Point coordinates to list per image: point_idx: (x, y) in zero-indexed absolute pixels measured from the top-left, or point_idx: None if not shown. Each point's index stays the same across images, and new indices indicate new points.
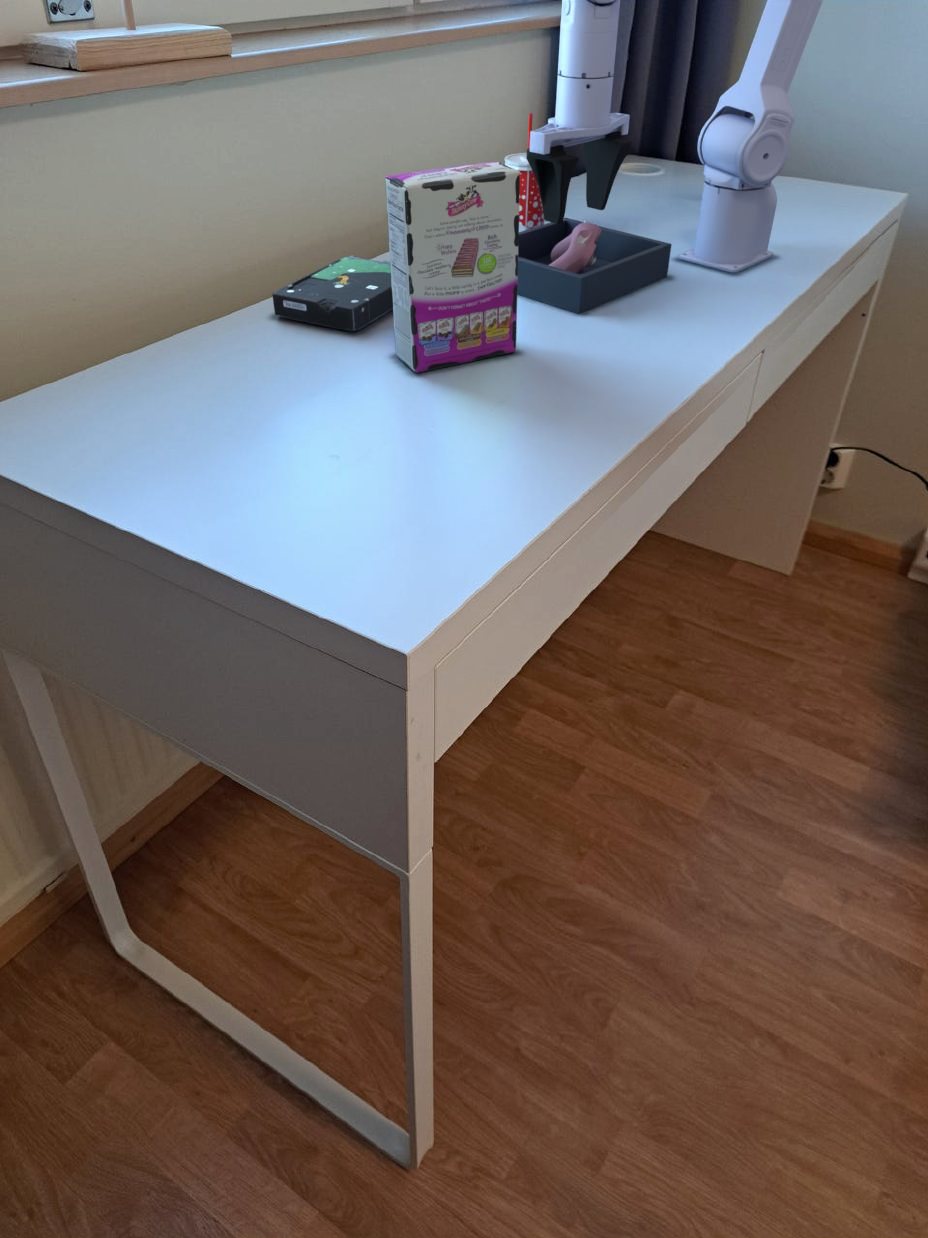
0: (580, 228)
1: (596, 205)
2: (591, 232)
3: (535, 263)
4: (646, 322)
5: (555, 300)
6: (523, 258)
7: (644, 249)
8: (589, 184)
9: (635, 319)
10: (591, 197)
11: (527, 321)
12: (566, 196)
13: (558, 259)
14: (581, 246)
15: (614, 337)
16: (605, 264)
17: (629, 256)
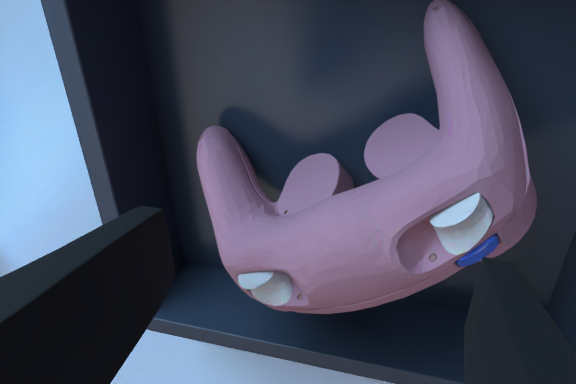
0: (303, 270)
1: (471, 315)
2: (310, 306)
3: (98, 191)
4: (242, 369)
5: None
6: (93, 138)
7: (571, 329)
8: (498, 351)
9: (239, 352)
10: (482, 313)
11: (60, 205)
12: (110, 376)
13: (208, 204)
14: (239, 286)
15: (147, 348)
16: (554, 167)
17: (359, 363)
